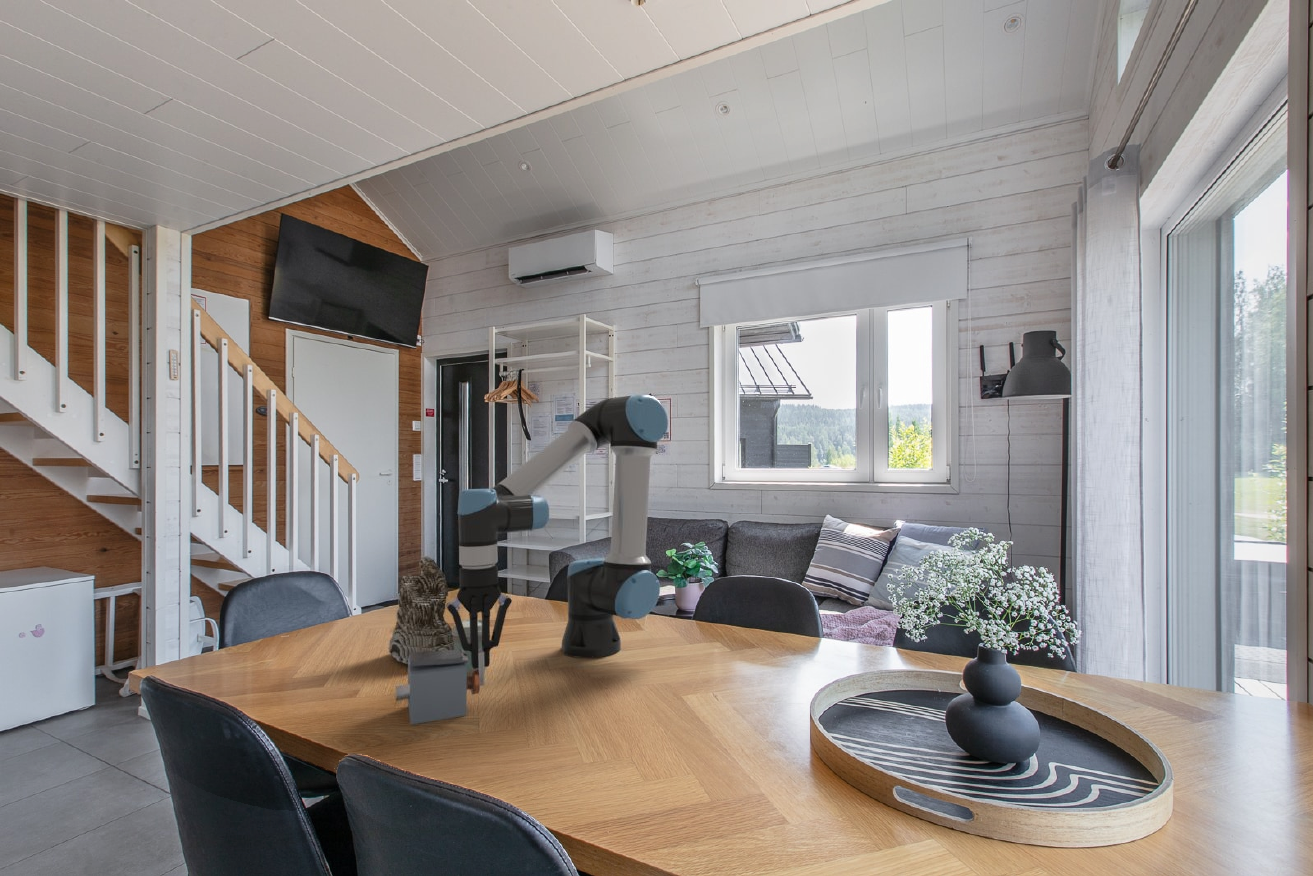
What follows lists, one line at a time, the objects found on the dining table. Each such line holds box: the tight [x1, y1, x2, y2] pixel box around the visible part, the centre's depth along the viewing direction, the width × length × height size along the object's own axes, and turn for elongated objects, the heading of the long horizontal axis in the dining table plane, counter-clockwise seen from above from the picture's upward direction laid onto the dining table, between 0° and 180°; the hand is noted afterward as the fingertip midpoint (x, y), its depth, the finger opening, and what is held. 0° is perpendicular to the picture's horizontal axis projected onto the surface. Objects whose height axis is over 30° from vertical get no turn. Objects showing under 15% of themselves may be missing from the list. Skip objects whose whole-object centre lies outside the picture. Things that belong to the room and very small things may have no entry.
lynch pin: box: [395, 669, 481, 701], centre depth 127 cm, size 15×5×5 cm, turn 114°
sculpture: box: [388, 555, 455, 665], centre depth 161 cm, size 20×14×25 cm
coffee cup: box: [452, 618, 492, 676], centre depth 147 cm, size 8×8×12 cm
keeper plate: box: [409, 648, 469, 666], centre depth 127 cm, size 11×6×1 cm, turn 114°
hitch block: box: [407, 661, 468, 725], centre depth 127 cm, size 10×10×9 cm
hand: (480, 683), depth 130 cm, fingers closed
